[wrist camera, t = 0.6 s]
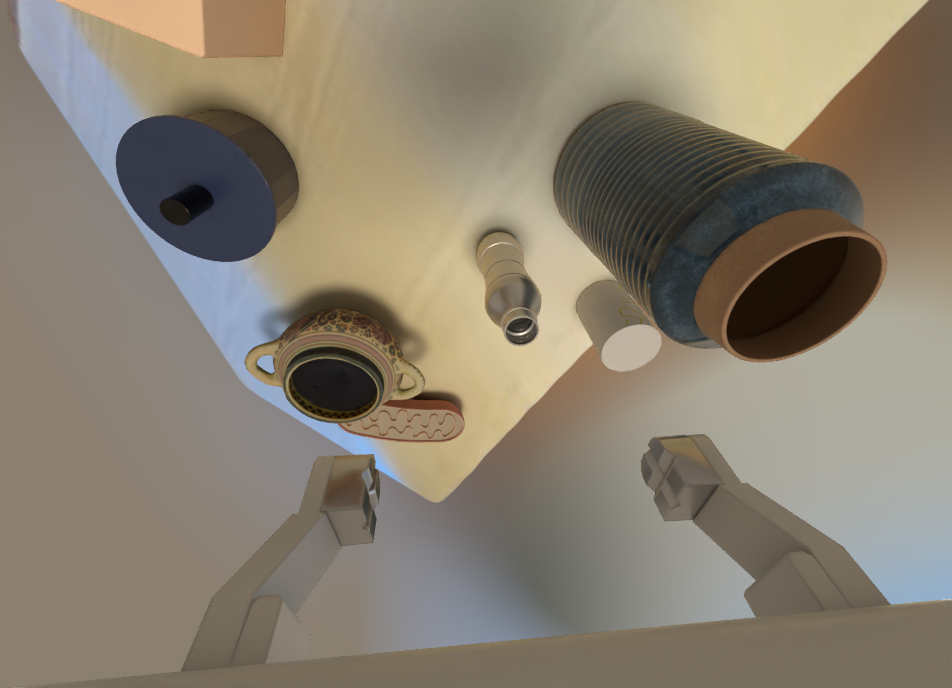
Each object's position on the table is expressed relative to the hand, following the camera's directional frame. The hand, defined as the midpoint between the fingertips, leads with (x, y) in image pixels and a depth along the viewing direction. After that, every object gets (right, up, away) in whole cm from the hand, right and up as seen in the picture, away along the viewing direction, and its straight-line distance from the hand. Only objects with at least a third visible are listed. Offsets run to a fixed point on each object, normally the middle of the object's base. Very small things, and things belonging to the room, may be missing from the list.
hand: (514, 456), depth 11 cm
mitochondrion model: (-15, -8, +60) cm, 63 cm away
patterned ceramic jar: (-21, +5, +50) cm, 54 cm away
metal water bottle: (+2, +17, +42) cm, 46 cm away
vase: (+17, +25, +37) cm, 48 cm away
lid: (-28, +18, +26) cm, 43 cm away
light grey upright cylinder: (+19, +10, +49) cm, 54 cm away
